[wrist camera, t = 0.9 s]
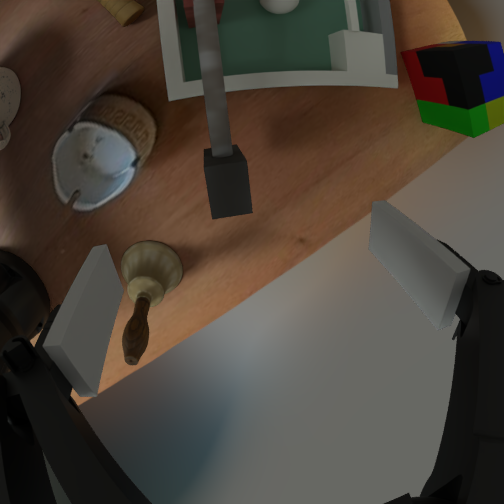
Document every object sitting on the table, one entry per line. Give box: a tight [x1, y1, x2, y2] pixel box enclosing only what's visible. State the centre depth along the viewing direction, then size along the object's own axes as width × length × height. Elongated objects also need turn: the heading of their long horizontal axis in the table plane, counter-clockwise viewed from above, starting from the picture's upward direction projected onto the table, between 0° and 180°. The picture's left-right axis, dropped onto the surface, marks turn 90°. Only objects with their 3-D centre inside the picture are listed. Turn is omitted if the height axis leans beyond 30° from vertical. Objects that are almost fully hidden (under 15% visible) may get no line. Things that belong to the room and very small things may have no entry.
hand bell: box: [121, 241, 183, 365], centre depth 32 cm, size 8×8×16 cm
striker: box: [183, 0, 253, 219], centre depth 19 cm, size 3×30×11 cm, turn 6°
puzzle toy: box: [401, 41, 504, 138], centre depth 26 cm, size 10×10×10 cm
